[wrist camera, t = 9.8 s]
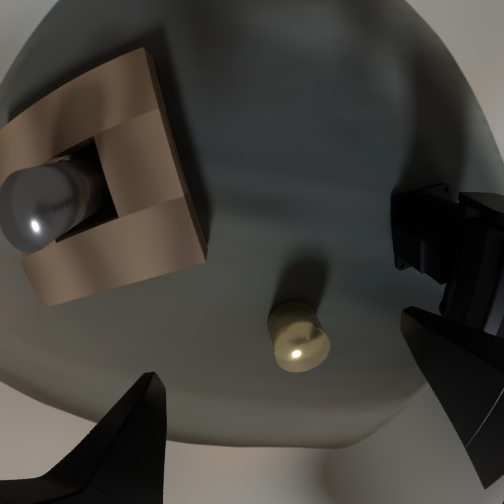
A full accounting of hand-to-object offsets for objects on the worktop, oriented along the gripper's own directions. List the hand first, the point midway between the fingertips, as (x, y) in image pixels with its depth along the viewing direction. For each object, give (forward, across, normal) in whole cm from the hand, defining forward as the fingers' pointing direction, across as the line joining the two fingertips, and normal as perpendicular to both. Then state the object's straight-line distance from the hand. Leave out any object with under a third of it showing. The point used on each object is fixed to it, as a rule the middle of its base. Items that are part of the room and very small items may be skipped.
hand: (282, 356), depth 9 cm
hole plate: (+11, +10, -7) cm, 17 cm away
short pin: (+12, -2, +8) cm, 14 cm away
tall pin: (+12, +10, -7) cm, 17 cm away
